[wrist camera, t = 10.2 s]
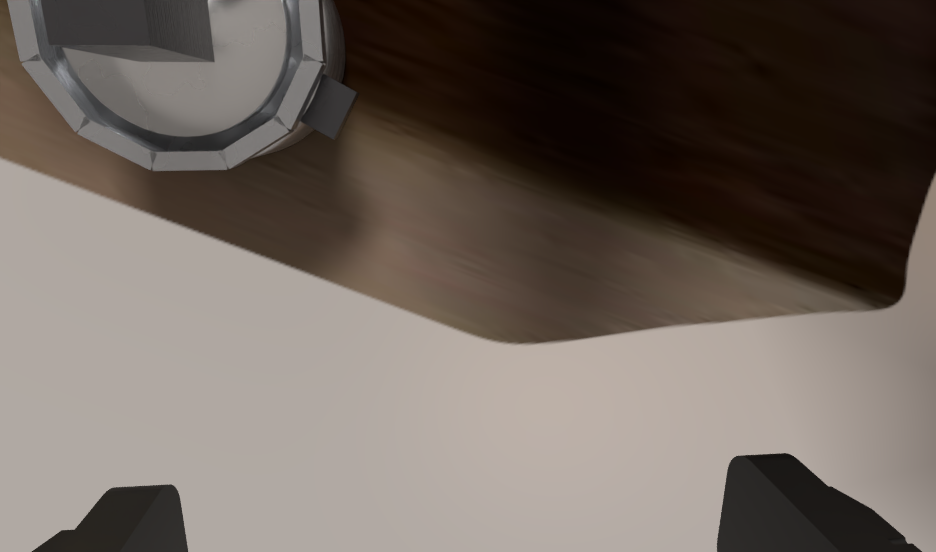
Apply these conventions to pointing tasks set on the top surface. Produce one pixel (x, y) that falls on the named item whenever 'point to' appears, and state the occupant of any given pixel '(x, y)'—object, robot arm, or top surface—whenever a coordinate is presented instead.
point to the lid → (176, 58)
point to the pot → (275, 128)
